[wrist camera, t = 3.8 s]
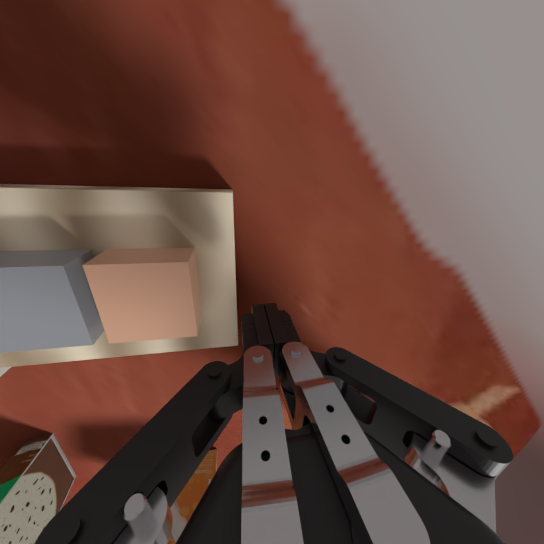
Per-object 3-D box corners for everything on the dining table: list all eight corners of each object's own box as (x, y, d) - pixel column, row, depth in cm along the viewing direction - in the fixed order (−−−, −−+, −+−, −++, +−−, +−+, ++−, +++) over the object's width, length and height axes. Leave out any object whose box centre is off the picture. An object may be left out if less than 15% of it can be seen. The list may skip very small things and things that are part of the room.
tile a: (194, 247, 17) (188, 262, 14) (202, 313, 19) (197, 336, 17) (107, 249, 16) (82, 265, 13) (126, 318, 18) (109, 343, 16)
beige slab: (232, 189, 18) (232, 192, 16) (237, 325, 24) (238, 345, 22) (-67, 182, 15) (-132, 184, 12) (21, 343, 21) (-10, 368, 18)
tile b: (91, 249, 16) (63, 265, 13) (113, 319, 18) (93, 345, 16) (-11, 251, 15) (-64, 269, 12) (27, 325, 17) (-10, 353, 14)
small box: (217, 447, 33) (210, 602, 21) (212, 471, 35) (203, 623, 23) (157, 450, 31) (113, 623, 19) (156, 476, 33) (116, 644, 21)
